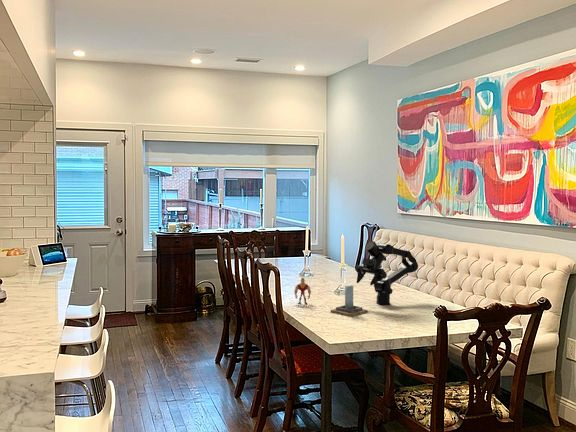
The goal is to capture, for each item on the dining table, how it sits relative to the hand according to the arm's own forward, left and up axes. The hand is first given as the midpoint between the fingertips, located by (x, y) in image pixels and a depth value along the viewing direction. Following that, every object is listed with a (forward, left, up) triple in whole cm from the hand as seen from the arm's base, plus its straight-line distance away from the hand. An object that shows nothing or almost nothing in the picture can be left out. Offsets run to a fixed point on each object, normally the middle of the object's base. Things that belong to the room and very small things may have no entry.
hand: (363, 283), depth 312 cm
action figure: (+30, -19, -14) cm, 38 cm away
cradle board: (+11, +7, -14) cm, 19 cm away
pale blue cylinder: (+11, +7, -12) cm, 18 cm away
